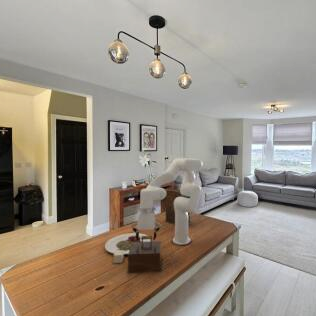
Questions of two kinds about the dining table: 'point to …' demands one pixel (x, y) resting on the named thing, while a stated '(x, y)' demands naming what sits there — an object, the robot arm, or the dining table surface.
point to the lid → (145, 247)
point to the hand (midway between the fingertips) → (146, 239)
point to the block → (118, 256)
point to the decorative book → (170, 197)
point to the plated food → (123, 242)
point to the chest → (144, 263)
